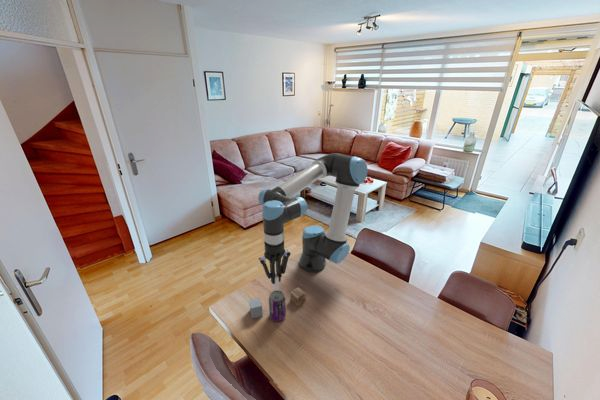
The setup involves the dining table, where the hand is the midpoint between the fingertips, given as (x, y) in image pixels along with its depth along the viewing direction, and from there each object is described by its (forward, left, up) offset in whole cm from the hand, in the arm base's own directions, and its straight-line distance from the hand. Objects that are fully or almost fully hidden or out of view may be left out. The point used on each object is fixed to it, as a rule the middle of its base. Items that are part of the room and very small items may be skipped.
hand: (276, 287), depth 107 cm
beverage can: (0, 0, -17) cm, 17 cm away
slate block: (+8, -6, -16) cm, 19 cm away
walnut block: (-12, -4, -16) cm, 21 cm away
